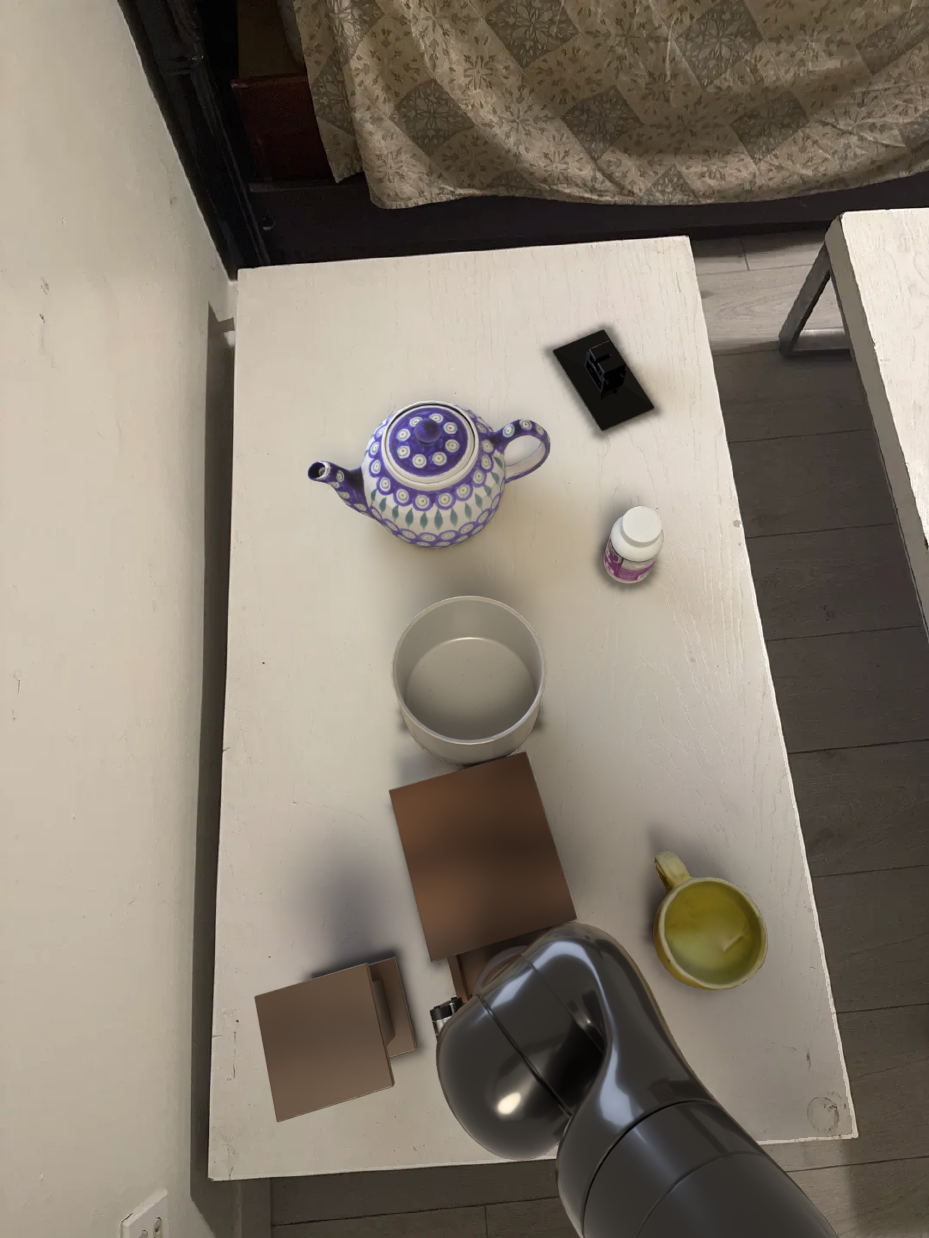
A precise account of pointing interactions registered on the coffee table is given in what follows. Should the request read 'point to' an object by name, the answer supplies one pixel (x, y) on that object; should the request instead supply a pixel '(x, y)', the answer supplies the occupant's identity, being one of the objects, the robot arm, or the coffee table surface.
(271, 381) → the coffee table surface
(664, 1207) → the robot arm
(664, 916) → the mug
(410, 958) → the coffee table surface
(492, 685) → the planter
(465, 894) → the cabinet
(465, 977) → the drawer
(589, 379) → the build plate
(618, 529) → the pill bottle
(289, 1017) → the stand
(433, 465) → the teapot
